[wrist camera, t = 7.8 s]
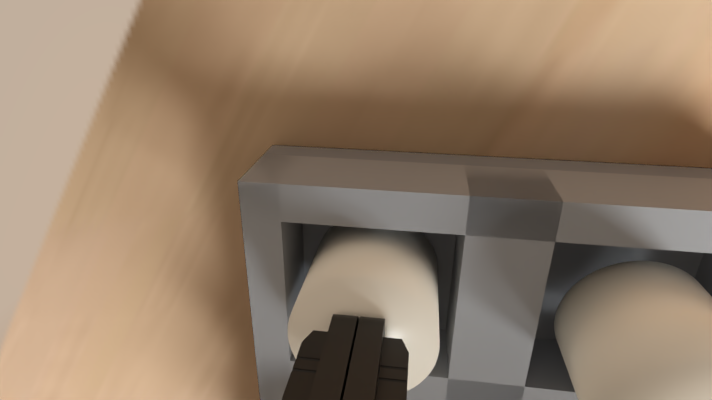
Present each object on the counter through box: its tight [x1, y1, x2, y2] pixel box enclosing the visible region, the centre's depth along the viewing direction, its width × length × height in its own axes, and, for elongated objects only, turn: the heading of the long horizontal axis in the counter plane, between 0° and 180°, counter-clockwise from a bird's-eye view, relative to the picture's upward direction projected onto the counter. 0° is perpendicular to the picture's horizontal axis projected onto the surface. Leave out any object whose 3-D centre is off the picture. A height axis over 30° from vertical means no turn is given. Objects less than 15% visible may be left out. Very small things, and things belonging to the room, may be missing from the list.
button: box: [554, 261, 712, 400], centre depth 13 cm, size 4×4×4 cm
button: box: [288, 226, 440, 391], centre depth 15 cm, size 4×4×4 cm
